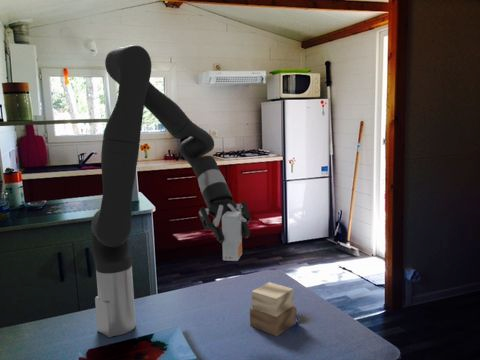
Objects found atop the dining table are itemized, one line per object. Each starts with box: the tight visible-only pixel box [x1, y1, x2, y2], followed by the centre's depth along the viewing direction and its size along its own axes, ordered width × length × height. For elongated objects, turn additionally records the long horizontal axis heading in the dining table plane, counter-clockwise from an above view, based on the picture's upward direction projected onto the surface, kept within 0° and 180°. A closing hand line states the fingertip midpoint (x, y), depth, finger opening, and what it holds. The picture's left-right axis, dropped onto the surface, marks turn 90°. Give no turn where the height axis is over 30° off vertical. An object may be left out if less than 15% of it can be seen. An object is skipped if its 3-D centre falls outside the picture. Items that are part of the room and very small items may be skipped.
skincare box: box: [221, 211, 243, 262], centre depth 110 cm, size 6×4×12 cm
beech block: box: [251, 281, 294, 317], centre depth 112 cm, size 8×8×5 cm
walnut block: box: [249, 305, 297, 337], centre depth 113 cm, size 9×9×5 cm
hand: (235, 238), depth 109 cm, fingers closed on skincare box, 7 cm apart
